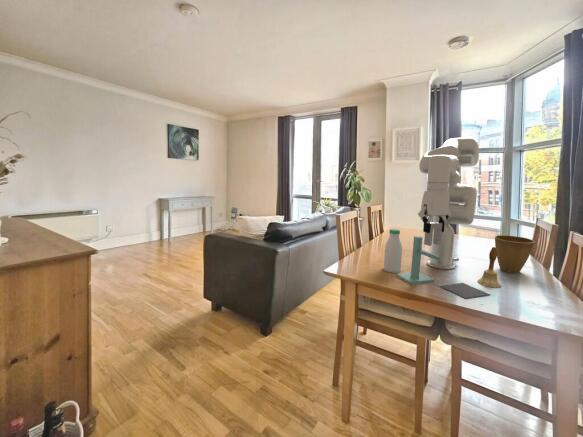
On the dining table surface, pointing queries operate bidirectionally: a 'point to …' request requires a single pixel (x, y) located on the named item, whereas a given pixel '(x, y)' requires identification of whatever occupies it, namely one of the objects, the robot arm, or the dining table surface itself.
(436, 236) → the link
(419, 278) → the stand
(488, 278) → the hand bell
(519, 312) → the dining table surface
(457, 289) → the mat
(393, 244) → the milk bottle
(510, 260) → the plant pot
